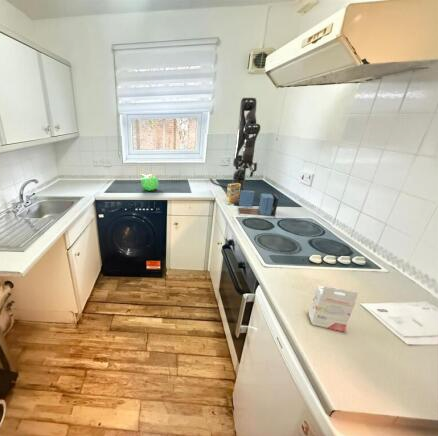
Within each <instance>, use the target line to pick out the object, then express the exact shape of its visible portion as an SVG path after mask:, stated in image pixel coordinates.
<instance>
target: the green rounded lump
mask: <svg viewBox="0 0 438 436" xmlns="http://www.w3.org/2000/svg"><path fill="white" fill-rule="evenodd" d="M140 175H141V178H139V181H140V182H141V186H142V188H143V189H144V191H145V190H146V191H150V192H151V191H155V190H156V189H157V188H158V187H159V183H160V181H159V178H158V177H157V176H156V175H154V174H147V175H146V174H144V173H140Z"/></svg>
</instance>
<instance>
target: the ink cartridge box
mask: <svg viewBox="0 0 438 436" xmlns="http://www.w3.org/2000/svg"><path fill="white" fill-rule="evenodd" d="M358 294H359V293H358V292H357V291H353V290H348V289H342V288H337V287H332V286H328V285H327V286H322V285H317V286H316V289H315V292H314V295H313V298H312V302H311V305H310V308H309V311H308V316H309V321H310V322H311V324H312V325H313V326H316V327H317V326H318V327H321V328H326V329H330V330H335V331H339V332H345V331H346V330H345V329H346V327H347V325H348V322H349V320H350V318H351V315H352V314H353V310H354V308H355V305H356V300H357V297H358Z"/></svg>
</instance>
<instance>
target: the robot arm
mask: <svg viewBox="0 0 438 436" xmlns="http://www.w3.org/2000/svg"><path fill="white" fill-rule="evenodd" d="M257 101H258V100H257V98H256V97H242V98H241V100H240V104H239V116H238V117H239V118H238V125H237V133H236V142H235V150H234V156H233V161H232V165H233V167H235V170H234V171H233V175H232V176H233V177H232V183H231V184H233V183H239V184H241V187H240V192H241V190H244V189H245V188H244V187H245V181H246V174H247V169H248V170H249V172H250V174H249V177H250V178H252V177H253V176H254V173H255V172H257V171H258V169H257V168H258V162H253V161H254V157H255V148H256V146H255V145H256V141H257V138H258V136H259V134H260V132H261V124H259V123H257V122H258V121H257V105H258V104H257ZM245 112H247V113H246V114H245ZM251 135H252V136H251ZM242 148H243V149H242ZM241 150H242V154H240V152H241ZM209 181H211V183H213V184H214V185H217V186H219V187H223V188H225V189H227V187H228V186H226V185H224V184H223V185H222V184H219V183H217V182H215V181H213V179H212V178H210V179H209ZM239 198H240V194H239Z"/></svg>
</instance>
